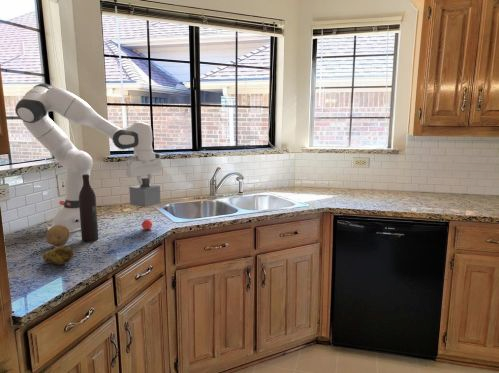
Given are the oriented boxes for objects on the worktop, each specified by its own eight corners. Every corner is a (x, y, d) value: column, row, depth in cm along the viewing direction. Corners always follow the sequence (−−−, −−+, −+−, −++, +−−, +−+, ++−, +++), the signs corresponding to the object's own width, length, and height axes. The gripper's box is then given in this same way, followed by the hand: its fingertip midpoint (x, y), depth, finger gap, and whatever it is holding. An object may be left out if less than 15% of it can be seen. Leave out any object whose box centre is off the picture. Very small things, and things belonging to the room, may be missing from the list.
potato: (64, 257, 149) (62, 238, 148) (77, 266, 140) (75, 246, 139) (41, 263, 143) (39, 243, 142) (53, 272, 135) (52, 251, 133)
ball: (145, 223, 183) (152, 218, 186) (138, 222, 185) (145, 217, 189) (148, 232, 185) (155, 226, 188) (141, 231, 187) (148, 225, 191)
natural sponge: (61, 252, 155) (59, 228, 153) (41, 250, 157) (39, 227, 155) (74, 244, 164) (73, 222, 162) (56, 243, 165) (54, 221, 164)
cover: (145, 207, 178) (144, 180, 176) (130, 204, 183) (129, 178, 181) (160, 203, 187) (159, 177, 184) (145, 200, 192) (144, 176, 189)
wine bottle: (96, 241, 168) (92, 175, 163) (79, 242, 167) (74, 176, 162) (100, 236, 175) (95, 173, 170) (84, 237, 174) (79, 173, 168)
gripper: (131, 158, 170) (132, 188, 173) (163, 154, 187) (164, 181, 190) (121, 157, 173) (123, 186, 176) (154, 153, 191) (154, 180, 193)
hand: (144, 184), depth 183 cm, fingers closed on cover, 3 cm apart
